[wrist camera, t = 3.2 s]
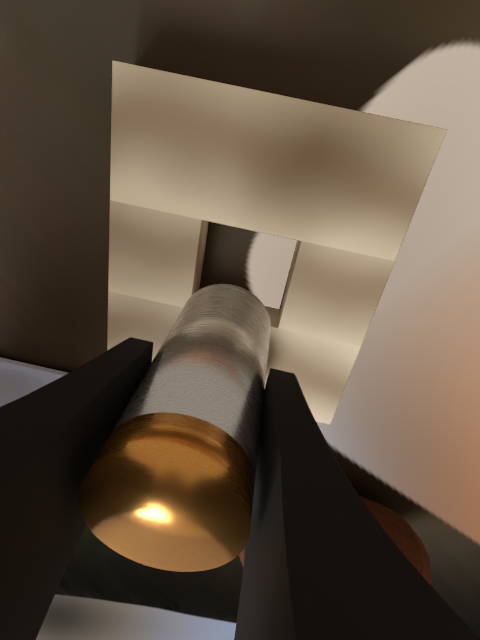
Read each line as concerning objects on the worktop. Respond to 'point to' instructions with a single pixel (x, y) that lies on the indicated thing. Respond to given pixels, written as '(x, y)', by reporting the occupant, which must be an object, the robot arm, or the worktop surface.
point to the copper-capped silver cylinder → (187, 441)
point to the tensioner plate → (259, 210)
